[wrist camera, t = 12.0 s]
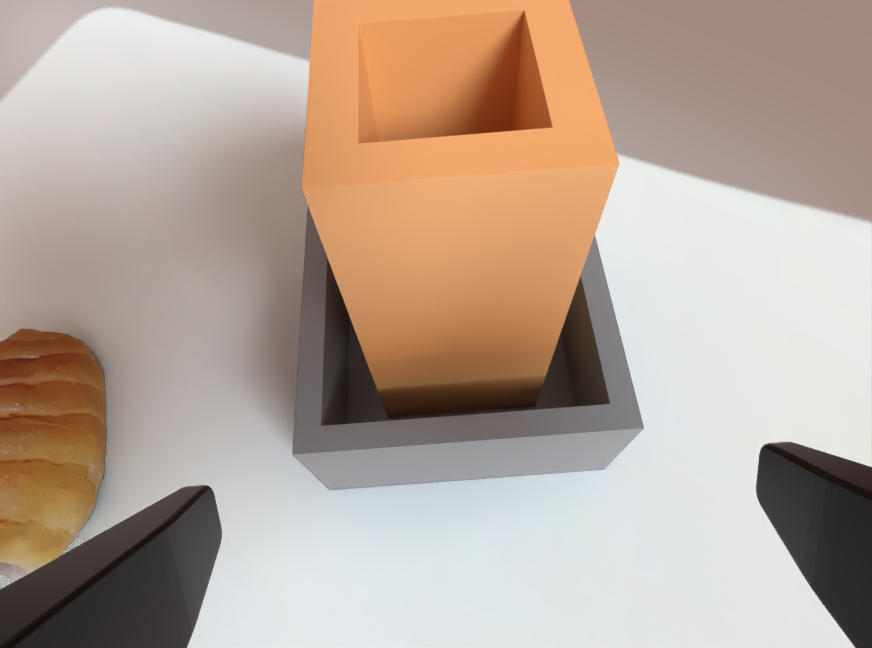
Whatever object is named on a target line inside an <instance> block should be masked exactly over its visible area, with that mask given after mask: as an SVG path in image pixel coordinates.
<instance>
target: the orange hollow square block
mask: <svg viewBox="0 0 872 648" xmlns="http://www.w3.org/2000/svg"><path fill="white" fill-rule="evenodd" d="M618 166H619V160H618V157H617V154H616V151H615V147H614V144H613V141H612V138H611V134H610V131H609V128H608V125H607V122H606V118H605V115H604V112H603V109H602V106H601V102H600V99H599V96H598V93H597V90H596V86H595V83H594V80H593V76H592V73H591V70H590V67H589V64H588V61H587V57H586V54H585V51H584V47H583V44H582V41H581V38H580V35H579V31H578V28H577V25H576V22H575V18H574V15H573V12H572V9H571V6H570V2H569V0H314V11H313V26H312V41H311V56H310V71H309V87H308V102H307V117H306V132H305V148H304V163H303V178H302V191H303V194H304V196H305V199H306V202H307V204H308V207H309V210H310V212H311V215H312V218H313V220H314V223H315V225H316V228H317V231H318V233H319V236H320V239H321V241H322V244H323V247H324V249H325V252H326V255H327V257H328V260H329V263H330V265H331V268H332V271H333V273H334V276H335V279H336V281H337V284H338V287H339V289H340V292H341V295H342V297H343V300H344V303H345V305H346V308H347V311H348V313H349V316H350V319H351V321H352V324H353V327H354V329H355V332H356V335H357V337H358V340H359V343H360V345H361V348H362V351H363V353H364V356H365V359H366V361H367V364H368V367H369V369H370V372H371V375H372V377H373V380H374V383H375V385H376V388H377V391H378V393H379V396H380V398H381V401H382V404H383V406H384V409H385V412H386V414H387V417H388V418H391V417H404V416H416V415H429V414H441V413H454V412H467V411H479V410H492V409H504V408H517V407H530V406H536V403H537V400H538V397H539V394H540V391H541V389H542V386H543V383H544V380H545V377H546V374H547V371H548V368H549V365H550V362H551V360H552V357H553V354H554V351H555V348H556V345H557V342H558V339H559V336H560V333H561V331H562V328H563V325H564V322H565V319H566V316H567V313H568V310H569V307H570V305H571V302H572V299H573V296H574V293H575V290H576V287H577V284H578V281H579V278H580V276H581V273H582V270H583V267H584V264H585V261H586V258H587V255H588V252H589V250H590V247H591V244H592V241H593V238H594V235H595V232H596V229H597V226H598V223H599V221H600V218H601V215H602V212H603V209H604V206H605V203H606V200H607V197H608V195H609V192H610V189H611V186H612V183H613V180H614V177H615V174H616V171H617V168H618Z"/></svg>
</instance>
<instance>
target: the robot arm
mask: <svg viewBox="0 0 872 648" xmlns="http://www.w3.org/2000/svg"><path fill="white" fill-rule="evenodd" d="M756 493H757V498H758V500H759V503H760V505H761V507H762V508H763V510H764V512H765V513H766V515H767V517H768V518H769V520H770V522H771V523H772V525H773V526H774V528H775V530H776V531H777V533H778V535H779V536H780V538H781V540H782V541H783V543H784V545H785V546H786V548H787V550H788V551H789V553H790V554H791V556H792V558H793V559H794V561H795V563H796V564H797V566H798V568H799V569H800V571H801V573H802V574H803V576H804V577H805V579H806V580H807V582H808V583H809V585H810V587H811V588H812V589H813V591H814V592H815V594H816V595H817V597H818V598H819V599H820V601H821V602H822V604H823V605H824V606H825V608H826V609H827V610H828V612H829V613H830V614H831V616H832V617H833V618H834V620H835V621H836V622H837V624H838V625H839V626H840V628H841V629H842V630H843V632H844V633H845V634H846V636H847V637H848V638H849V640H850V641H851V642H852V644H853V645H854V646H855V648H872V467H870V466H866V465H863V464H860V463H857V462H854V461H851V460H847V459H844V458H841V457H838V456H835V455H831V454H828V453H825V452H822V451H819V450H815V449H812V448H809V447H806V446H803V445H799V444H796V443H793V442H778V443H768V444H765V445H764V446H763V447H762V448H761V450H760V454H759V464H758V474H757V483H756ZM221 539H222V529H221V523H220V519H219V514H218V510H217V505H216V500H215V496H214V492H213V490H212V488H210V487H209V486H207V485H201V486H187V487H183V488H181V489H179V490H177V491H176V492H174V493H172V494H170V495H169V496H167V497H165V498H163V499H161V500H160V501H158V502H156V503H154V504H152V505H151V506H149V507H147V508H145V509H144V510H142V511H140V512H138V513H136V514H135V515H133V516H131V517H129V518H127V519H126V520H124V521H122V522H120V523H119V524H117V525H115V526H113V527H111V528H110V529H108V530H106V531H104V532H102V533H101V534H99V535H97V536H95V537H94V538H92V539H90V540H88V541H86V542H85V543H83V544H81V545H79V546H77V547H76V548H74V549H72V550H70V551H69V552H67V553H65V554H63V555H61V556H60V557H58V558H56V559H54V560H52V561H51V562H49V563H47V564H45V565H43V566H42V567H40V568H38V569H36V570H35V571H33V572H31V573H29V574H27V575H26V576H24V577H22V578H20V579H18V580H17V581H15V582H13V583H11V584H10V585H8V586H6V587H4V588H2V589H1V590H0V648H187V646H188V643H189V641H190V638H191V636H192V633H193V631H194V628H195V625H196V622H197V619H198V616H199V613H200V609H201V606H202V603H203V600H204V596H205V593H206V590H207V586H208V583H209V580H210V577H211V573H212V570H213V567H214V564H215V560H216V557H217V554H218V551H219V547H220V544H221Z"/></svg>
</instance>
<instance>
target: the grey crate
mask: <svg viewBox="0 0 872 648" xmlns="http://www.w3.org/2000/svg"><path fill="white" fill-rule="evenodd" d="M643 429H644V427H643V423H642V419H641V415H640V411H639V407H638V403H637V399H636V395H635V391H634V387H633V383H632V379H631V375H630V371H629V368H628V364H627V360H626V356H625V352H624V348H623V344H622V340H621V336H620V332H619V328H618V324H617V320H616V316H615V312H614V309H613V305H612V301H611V297H610V293H609V289H608V285H607V281H606V277H605V273H604V269H603V265H602V261H601V257H600V253H599V249H598V246H597V242H596V238H595V235H594V238H593V241H592V244H591V247H590V250H589V252H588V255H587V258H586V261H585V264H584V267H583V270H582V273H581V276H580V278H579V281H578V284H577V287H576V290H575V293H574V296H573V299H572V302H571V305H570V307H569V310H568V313H567V316H566V319H565V322H564V325H563V328H562V331H561V333H560V336H559V339H558V342H557V345H556V348H555V351H554V354H553V357H552V360H551V362H550V365H549V368H548V371H547V374H546V377H545V380H544V383H543V386H542V389H541V391H540V394H539V397H538V400H537V403H536V406H530V407H517V408H504V409H492V410H479V411H467V412H454V413H441V414H429V415H416V416H404V417H391V418H388V417H387V414H386V412H385V409H384V406H383V404H382V401H381V398H380V396H379V393H378V391H377V388H376V385H375V383H374V380H373V377H372V375H371V372H370V369H369V367H368V364H367V361H366V359H365V356H364V353H363V351H362V348H361V345H360V343H359V340H358V337H357V335H356V332H355V329H354V327H353V324H352V321H351V319H350V316H349V313H348V311H347V308H346V305H345V303H344V300H343V297H342V295H341V292H340V289H339V287H338V284H337V281H336V279H335V276H334V273H333V271H332V268H331V265H330V263H329V260H328V257H327V255H326V252H325V249H324V247H323V244H322V241H321V239H320V236H319V233H318V231H317V228H316V225H315V223H314V220H313V218H312V215H311V212H310V210H309V207H308V211H307V228H306V244H305V260H304V276H303V292H302V308H301V324H300V341H299V357H298V373H297V389H296V405H295V421H294V437H293V454H292V455H293V456H294V457H295V458H296V459H297V460H299V461H300V462H301V463H302V464H303V465H304V466H305V467H306V468H307V469H308V470H309V471H310V472H311V473H312V474H313V475H314V476H315V477H316V478H317V479H318V480H320V481H321V482H322V483H323V484H324V485H325V486H326V487H327V488H328V489H329V490H337V489H350V488H364V487H377V486H390V485H404V484H417V483H430V482H444V481H457V480H470V479H484V478H497V477H510V476H524V475H537V474H550V473H564V472H577V471H590V470H603V469H605V468H606V467H607V466H608V465H609V464H610V463H611V462H612V461H613V460H614V459H615V458H616V457H617V456H618V455H619V454H620V453H621V451H622V450H623V449H624V448H625V447H626V446H627V445H628V444H629V443H630V442H631V441H632V440H633V439H634V438H635V437H636V436H637V435H638V434H639V433H640V432H641V431H642V430H643Z"/></svg>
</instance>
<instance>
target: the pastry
mask: <svg viewBox="0 0 872 648" xmlns="http://www.w3.org/2000/svg"><path fill="white" fill-rule="evenodd" d="M105 409H106V398H105V384H104V375H103V371H102V369H101V367H100V365H99V364H98V361H97V359H96V357H95V355H94V354H93V353H92V351H91V350H90V349H89V348H88V347H87V346H86V345H85V344H84V342H82V341H81V340H78V339H75V338H73V337H72V336H70V335H68V334H62V333H55V332H40V331H38V330H34V329H20V330H19V331H18V332H16V333H14V334H13V335H11V336H10V337H9V338H7V339H6V340H4V341H2V342H0V573H1V574H2V575H5V576H7V577H9V578H13V579H17V578H22V577H24V576H26V575H27V574H29V573H31V572H33V571H35V570H36V569H38V568H40V567H42V566H43V565H45V564H47V563H49V562H51V561H52V560H54V559H56V558H58V557H60V556H61V554H62V553H63V552H64V551H65V550H66V548H67V547H68V546H69V544H70V543H71V542H72V540H73V539H74V537H75V536H76V535H77V533H78V532H79V531H80V530H81V529H82V527H83V526H84V525H85V523H86V522H87V520H88V519H89V517H90V516H91V514H92V512H93V510H94V509H95V501H96V498H97V493H98V489H99V486H100V483H101V480H102V479H103V478H104V459H105V455H106V444H105V442H106V434H107V429H106V412H105Z"/></svg>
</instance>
